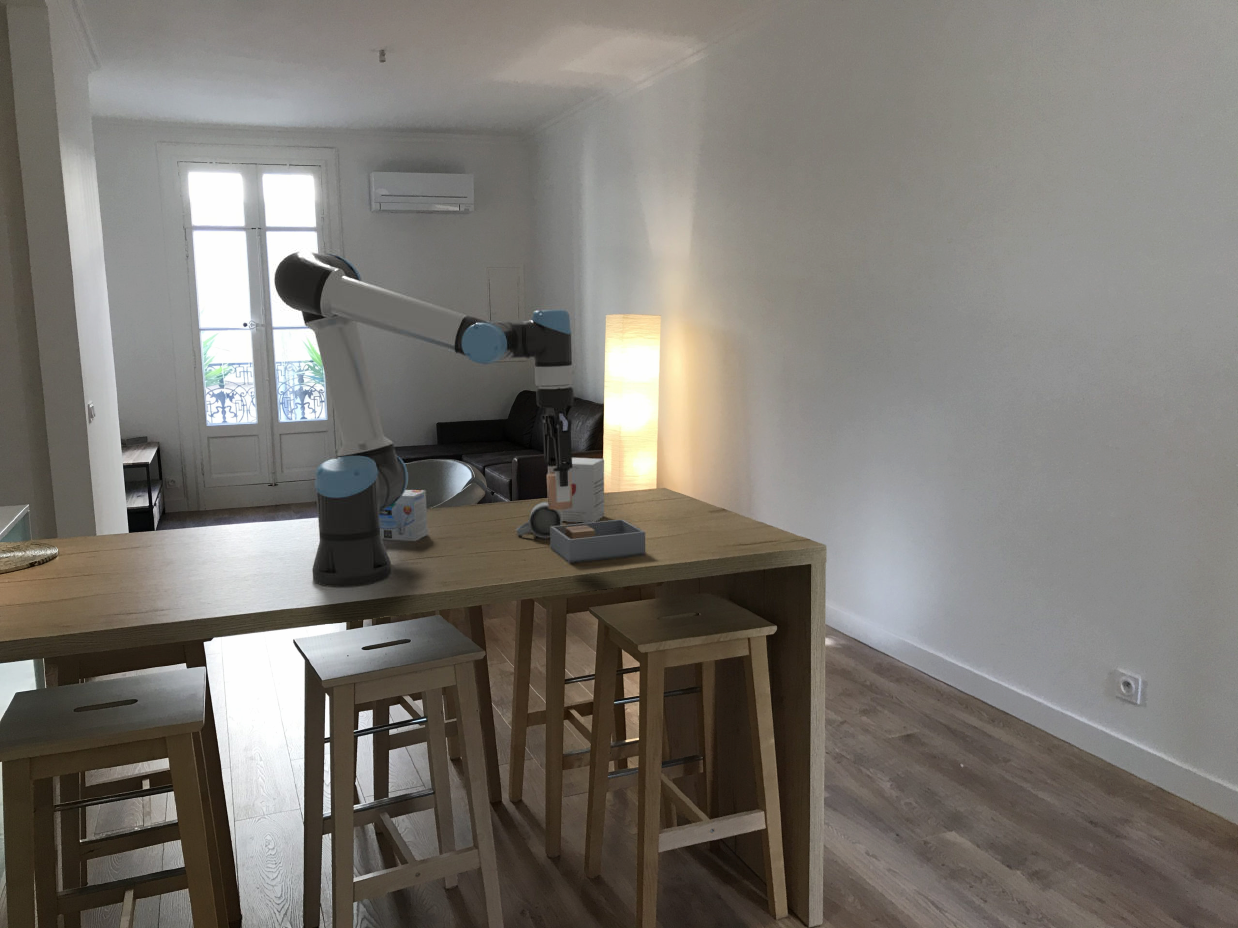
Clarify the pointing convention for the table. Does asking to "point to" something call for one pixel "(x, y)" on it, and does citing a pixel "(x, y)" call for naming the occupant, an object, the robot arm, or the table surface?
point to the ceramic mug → (541, 521)
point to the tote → (599, 541)
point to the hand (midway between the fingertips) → (559, 498)
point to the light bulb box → (405, 517)
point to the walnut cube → (579, 532)
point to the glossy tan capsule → (552, 494)
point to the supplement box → (586, 491)
